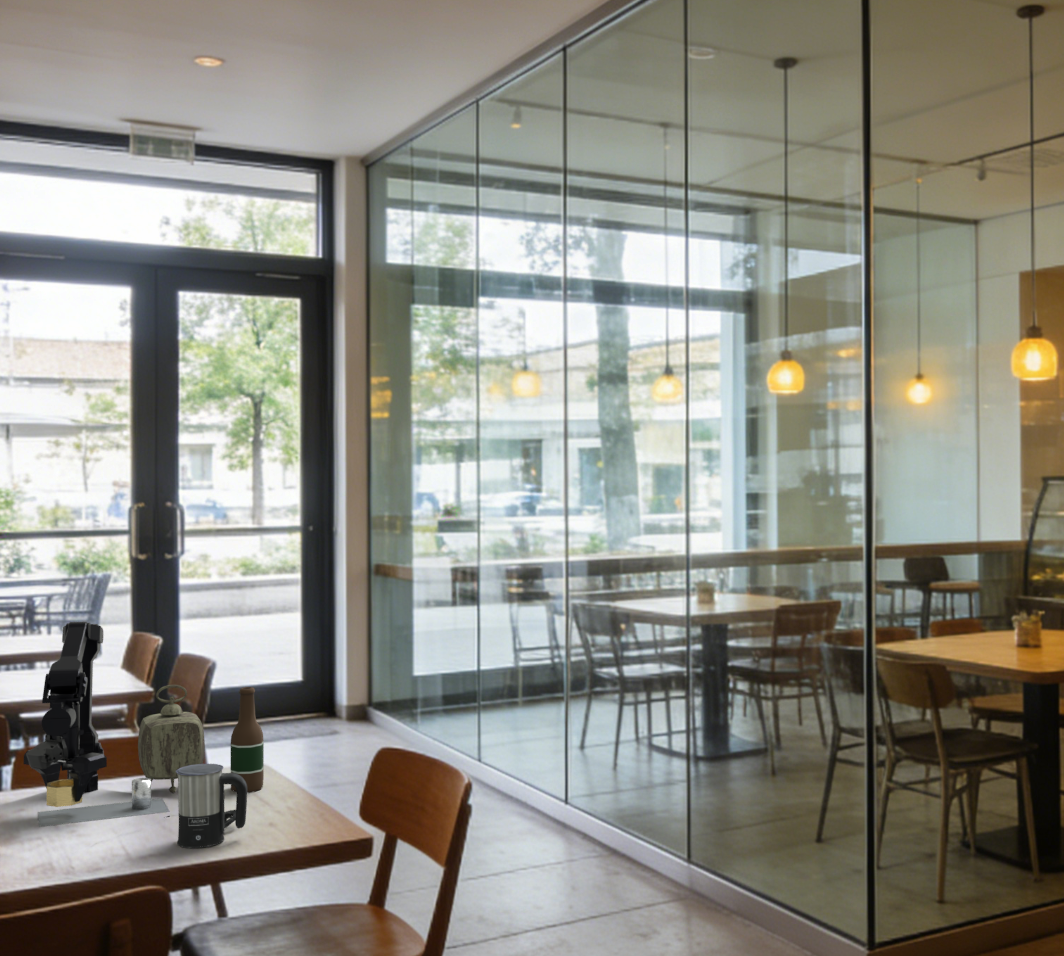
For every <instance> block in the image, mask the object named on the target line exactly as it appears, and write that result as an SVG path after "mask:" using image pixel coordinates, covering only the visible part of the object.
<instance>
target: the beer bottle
mask: <svg viewBox="0 0 1064 956" xmlns="http://www.w3.org/2000/svg"><path fill="white" fill-rule="evenodd" d="M255 692H256V690H255V688H254V687H253V686H245V687H241V688H240V689H239V692H238V693H239V694H240V696H239V712H238V720H237V723H236V725H235V726H234V728H233V730H232V733H231V736H230V773H235V774H238V775H240V776H241V777H242V778H243V779H244V780H245V782H246V784H247V793H253V792H257V791H261V790H262V788H263V787H264V774H265V773H264V772H265V771H264V766H265V765H264V764H265V763H264V762H265V761H264V757H265V755H264V745H265V744H264V743H265V741H264V733H263V730H262V727H261V725H260V724H259V723H258V722H257V718H256V705H255ZM230 790H231V791H232V792H236V793H237V790H236V788H235V786H233V785H231V784H230Z"/></svg>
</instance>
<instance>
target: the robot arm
mask: <svg viewBox="0 0 1064 956" xmlns="http://www.w3.org/2000/svg"><path fill="white" fill-rule="evenodd" d="M61 643H62V644H63V645H62V648H61V652H60V656H59V659H58V660H56V661H54V662H53V663H52V664H51V666H50V668H49V670H48V673H46V675H45V677H44V685H43V691H42V692H43V693H42V700H41V703H42V704H49V709H48V710H47V711H46V712H45V713H44V714H43V716H42V719H41V727H42V730H43V731H44V732H45V733H46V734H45V735H44V741H42V742H41V743H39V744H37V745H36V746H34V747H33V748H32V749H28V750H26V752H25V753H24V754H23V765H27V766H29V767H30V768H31V769H32V770H35V772H37V773H39V774H40V776H41V778H42V781H43V783H44V786H45V790H47V783H50V782H53V781H57V780H60V775H61V771H62V772H64V771H66V772H67V773H66V777H67V779H73V784H74V799H75V802H78V801H80V800H81V798H82V795H84V793H92V792H96V791H98V790H99V774H98V771H99V770H100V769H103V768H107V763H108V762H107V760H108V759H107V756H106V755H105V751H104V748H103V747H102V744H101V742H99V734H98V732H97V731H96V728H95V727H94V726H93V724H92V719H93V718H92V717H93V714H92V712H93V677H94V675H93V674H94V673H93V672H94V660H95V659H96V658H97V656H98V655H99V653H100V652H101V644H103V643H104V628H103V627H102V626H101V625H98V623H91V622H88V621H69V622H67V623H66V624H65V625H64V626H62V638H61Z"/></svg>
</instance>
